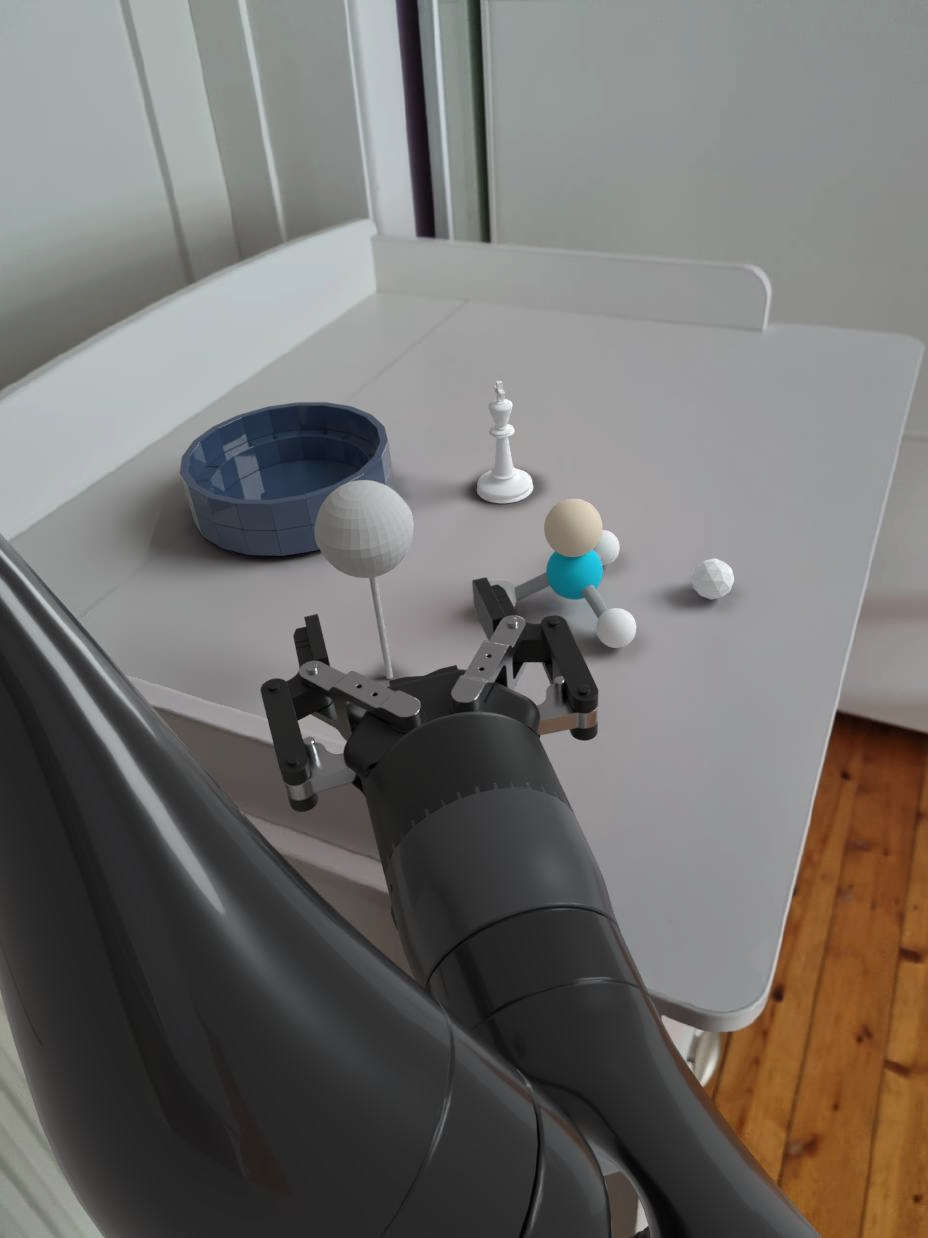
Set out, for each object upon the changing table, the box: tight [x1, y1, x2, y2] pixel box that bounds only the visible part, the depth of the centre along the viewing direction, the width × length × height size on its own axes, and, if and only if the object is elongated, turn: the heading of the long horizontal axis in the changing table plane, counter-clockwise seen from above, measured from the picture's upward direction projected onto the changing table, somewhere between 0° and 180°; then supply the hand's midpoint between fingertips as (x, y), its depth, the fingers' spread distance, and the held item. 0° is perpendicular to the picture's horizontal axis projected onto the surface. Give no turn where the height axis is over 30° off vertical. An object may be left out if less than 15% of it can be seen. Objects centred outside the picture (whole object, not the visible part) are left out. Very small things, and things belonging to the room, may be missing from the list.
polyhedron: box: [691, 557, 735, 600], centre depth 68 cm, size 3×3×3 cm
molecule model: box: [488, 498, 637, 649], centre depth 66 cm, size 12×12×9 cm
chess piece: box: [476, 380, 534, 504], centre depth 79 cm, size 5×5×10 cm
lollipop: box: [315, 480, 415, 680], centre depth 60 cm, size 6×6×15 cm
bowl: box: [179, 401, 396, 557], centre depth 81 cm, size 17×17×6 cm
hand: (397, 610), depth 47 cm, fingers open, 8 cm apart
